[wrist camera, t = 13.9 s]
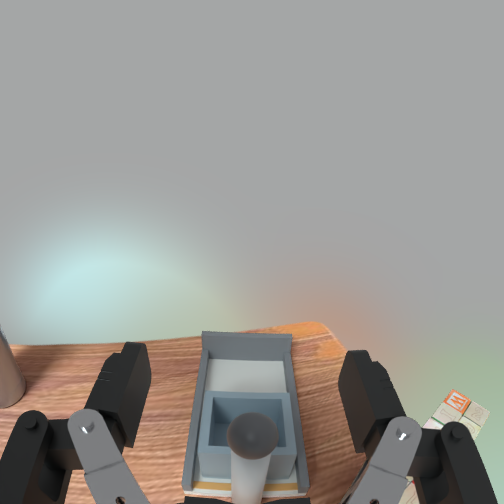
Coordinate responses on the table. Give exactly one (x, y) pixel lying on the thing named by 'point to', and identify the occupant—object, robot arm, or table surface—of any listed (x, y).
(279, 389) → the crate bay
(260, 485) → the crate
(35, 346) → the table surface
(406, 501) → the stack of blocks
